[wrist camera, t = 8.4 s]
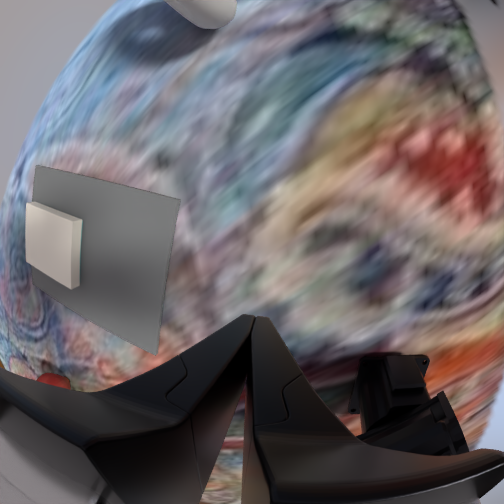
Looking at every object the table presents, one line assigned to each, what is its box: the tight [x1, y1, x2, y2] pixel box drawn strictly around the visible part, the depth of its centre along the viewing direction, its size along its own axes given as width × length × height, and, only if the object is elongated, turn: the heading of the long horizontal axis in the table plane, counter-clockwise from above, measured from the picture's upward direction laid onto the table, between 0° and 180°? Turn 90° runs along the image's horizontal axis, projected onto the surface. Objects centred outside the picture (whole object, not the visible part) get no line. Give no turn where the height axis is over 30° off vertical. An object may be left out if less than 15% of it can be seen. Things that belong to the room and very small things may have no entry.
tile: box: [25, 202, 83, 290], centre depth 24 cm, size 2×7×9 cm
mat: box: [31, 165, 180, 355], centre depth 25 cm, size 20×15×1 cm
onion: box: [36, 373, 71, 390], centre depth 28 cm, size 6×6×8 cm
